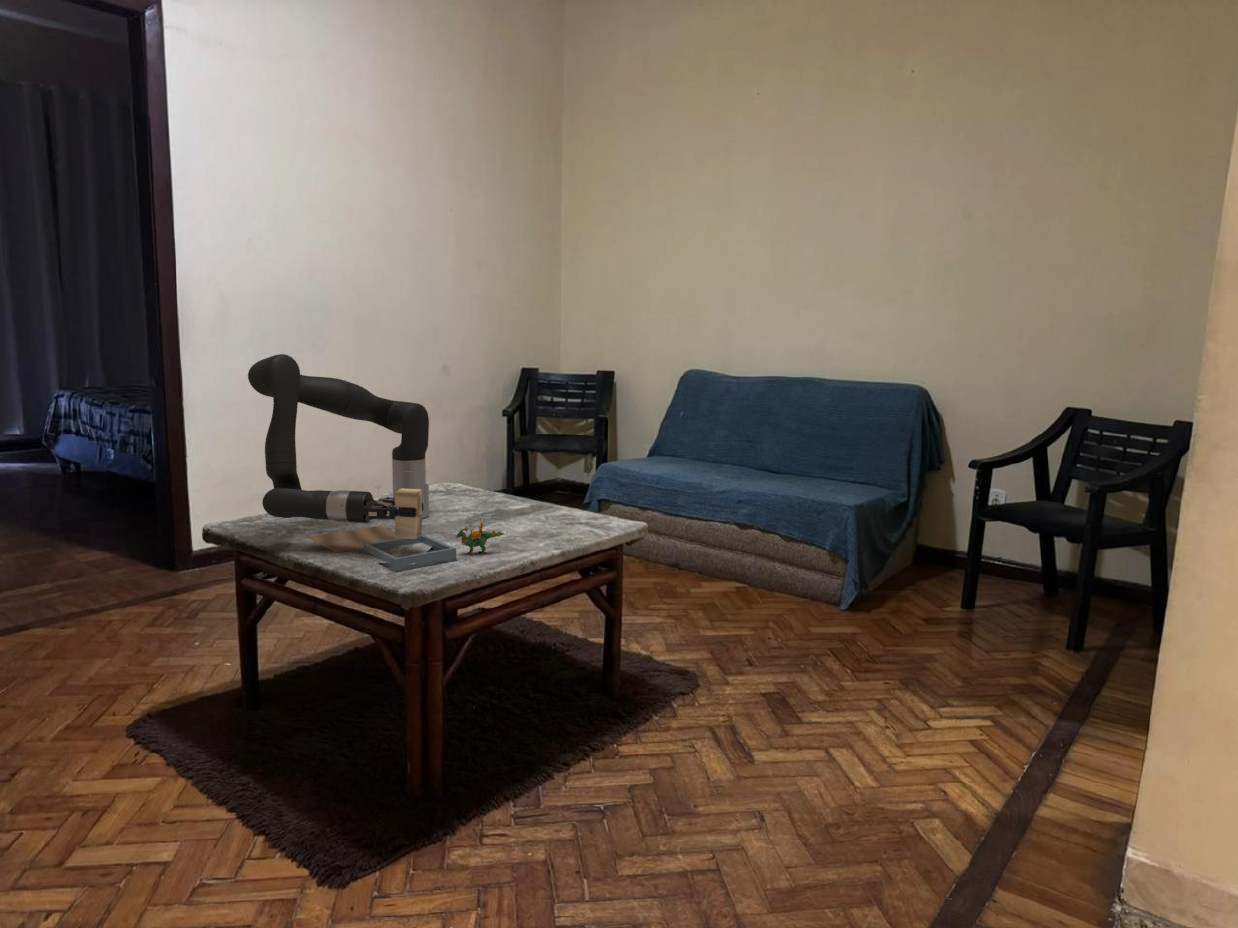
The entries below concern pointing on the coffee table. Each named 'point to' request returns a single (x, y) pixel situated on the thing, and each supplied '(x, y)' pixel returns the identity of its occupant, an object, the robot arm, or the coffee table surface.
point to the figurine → (476, 538)
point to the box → (431, 557)
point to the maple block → (409, 525)
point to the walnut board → (354, 538)
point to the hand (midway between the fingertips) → (419, 509)
